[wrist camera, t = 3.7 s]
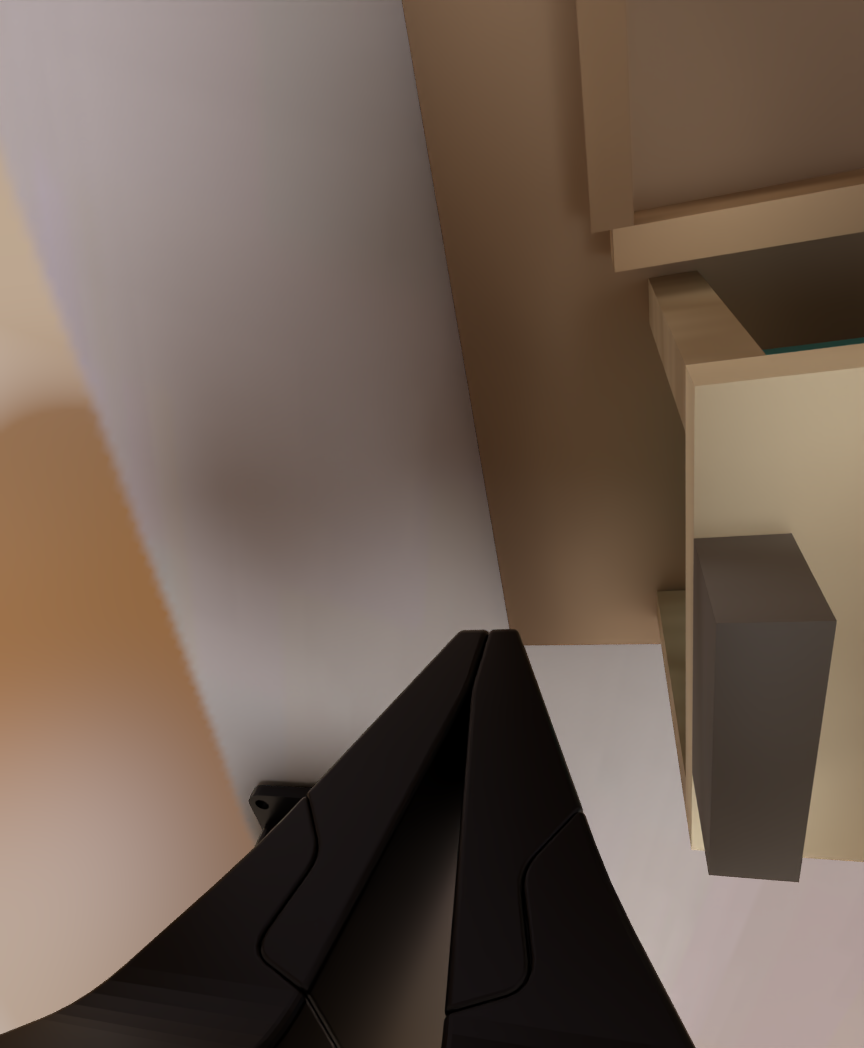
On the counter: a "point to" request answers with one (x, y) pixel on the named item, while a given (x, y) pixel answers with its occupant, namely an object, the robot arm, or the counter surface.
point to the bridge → (765, 590)
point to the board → (627, 254)
